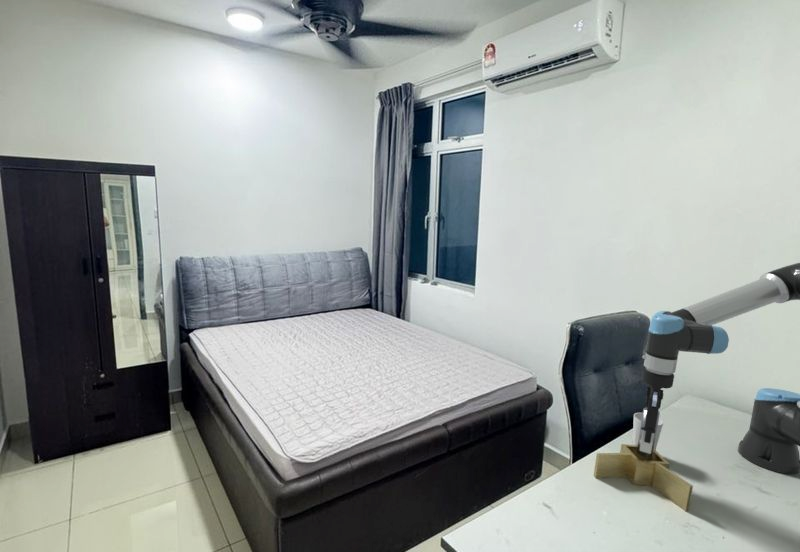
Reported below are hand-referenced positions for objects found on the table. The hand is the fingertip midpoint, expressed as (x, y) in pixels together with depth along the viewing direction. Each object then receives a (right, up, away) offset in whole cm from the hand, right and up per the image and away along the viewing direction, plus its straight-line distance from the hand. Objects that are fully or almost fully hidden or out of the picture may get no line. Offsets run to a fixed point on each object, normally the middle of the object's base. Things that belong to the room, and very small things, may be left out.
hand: (645, 447), depth 119 cm
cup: (+7, -8, +13) cm, 17 cm away
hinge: (-5, -9, -3) cm, 11 cm away
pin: (0, -2, 0) cm, 2 cm away
